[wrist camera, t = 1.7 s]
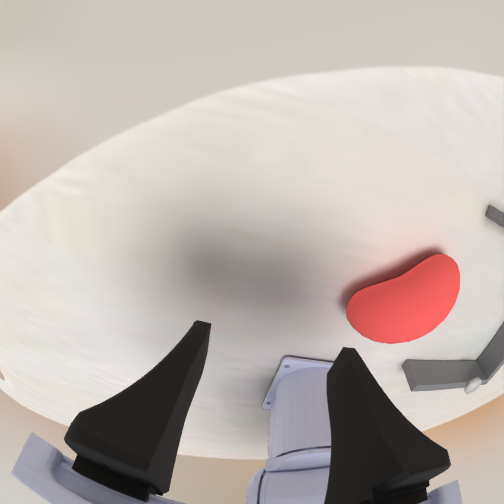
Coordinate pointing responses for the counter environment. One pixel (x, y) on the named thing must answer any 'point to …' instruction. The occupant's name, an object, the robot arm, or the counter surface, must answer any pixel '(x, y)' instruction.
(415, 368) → the gray u-shaped bracket
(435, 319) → the red kidney bean shape
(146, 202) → the counter surface
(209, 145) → the counter surface
